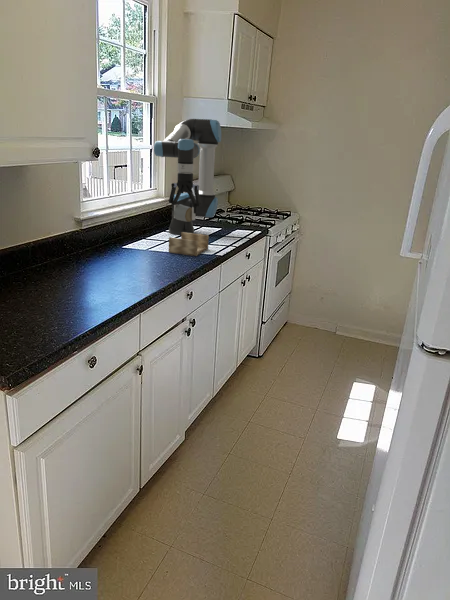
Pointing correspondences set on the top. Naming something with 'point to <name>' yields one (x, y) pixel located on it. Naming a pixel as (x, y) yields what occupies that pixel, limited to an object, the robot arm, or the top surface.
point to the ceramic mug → (183, 213)
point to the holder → (189, 244)
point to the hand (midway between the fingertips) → (184, 218)
